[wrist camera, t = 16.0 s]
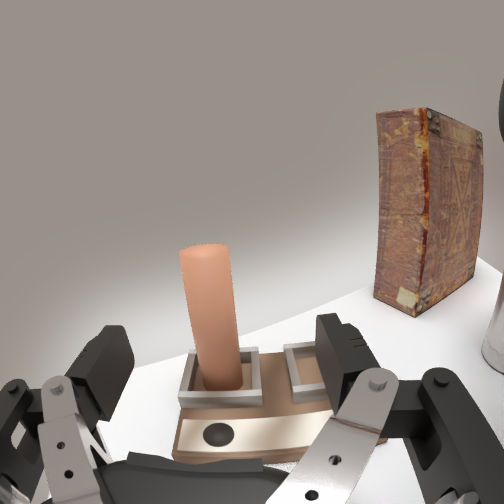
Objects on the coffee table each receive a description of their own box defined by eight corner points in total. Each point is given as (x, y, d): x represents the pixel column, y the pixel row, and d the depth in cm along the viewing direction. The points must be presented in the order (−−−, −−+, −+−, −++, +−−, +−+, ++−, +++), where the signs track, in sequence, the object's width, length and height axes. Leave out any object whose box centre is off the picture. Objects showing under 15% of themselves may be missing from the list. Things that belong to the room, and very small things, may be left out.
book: (441, 265, 55) (446, 131, 46) (473, 277, 47) (482, 133, 38) (372, 298, 45) (375, 111, 36) (414, 319, 37) (425, 106, 28)
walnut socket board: (345, 354, 32) (347, 333, 31) (386, 442, 18) (395, 421, 18) (195, 366, 32) (190, 345, 31) (175, 463, 18) (166, 444, 17)
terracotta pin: (243, 369, 29) (230, 241, 25) (243, 395, 25) (227, 256, 21) (206, 370, 29) (184, 245, 25) (202, 396, 25) (174, 260, 21)
